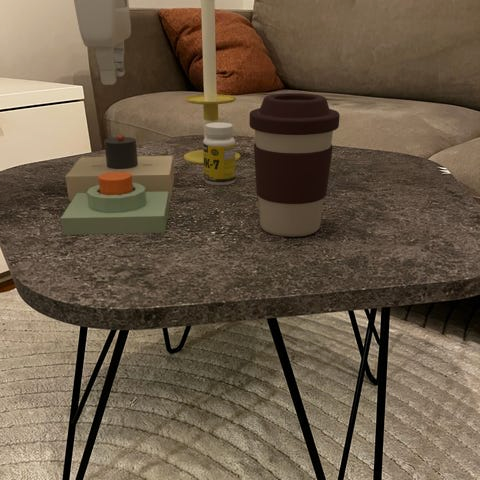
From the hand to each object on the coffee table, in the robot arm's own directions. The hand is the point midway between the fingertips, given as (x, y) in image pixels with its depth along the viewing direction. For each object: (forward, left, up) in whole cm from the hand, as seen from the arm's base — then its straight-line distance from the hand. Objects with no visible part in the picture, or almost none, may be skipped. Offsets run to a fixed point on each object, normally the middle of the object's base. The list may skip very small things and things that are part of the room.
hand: (113, 80), depth 79 cm
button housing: (+1, -14, -15) cm, 21 cm away
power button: (+1, -14, -11) cm, 18 cm away
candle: (+13, +19, -15) cm, 28 cm away
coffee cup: (+22, -18, -15) cm, 32 cm away
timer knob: (0, 0, -11) cm, 11 cm away
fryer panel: (0, 0, -15) cm, 15 cm away
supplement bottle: (+14, +3, -15) cm, 21 cm away
